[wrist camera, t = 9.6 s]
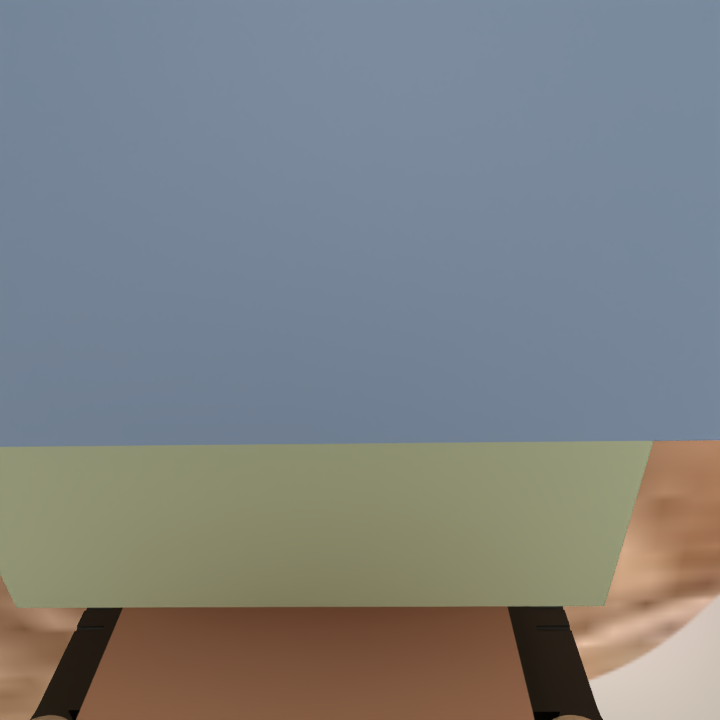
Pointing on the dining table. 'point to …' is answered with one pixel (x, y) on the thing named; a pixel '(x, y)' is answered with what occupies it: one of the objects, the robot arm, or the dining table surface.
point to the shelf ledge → (348, 295)
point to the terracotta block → (310, 665)
